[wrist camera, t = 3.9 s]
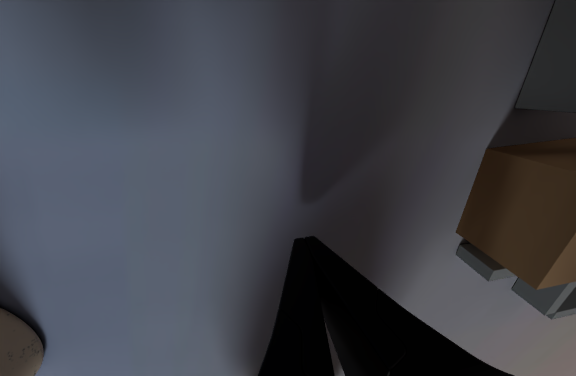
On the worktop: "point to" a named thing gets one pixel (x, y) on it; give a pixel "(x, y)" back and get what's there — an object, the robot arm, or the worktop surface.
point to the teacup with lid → (18, 347)
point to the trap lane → (552, 97)
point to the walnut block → (526, 211)
